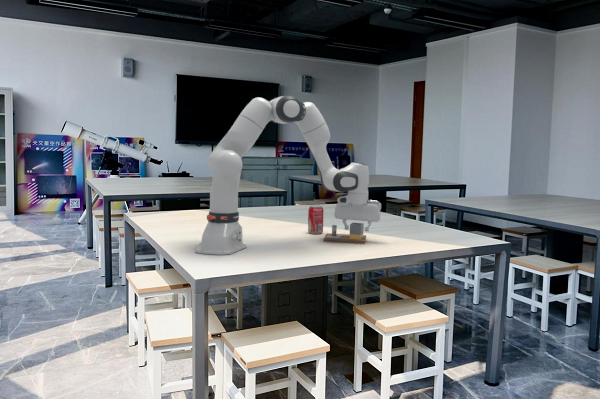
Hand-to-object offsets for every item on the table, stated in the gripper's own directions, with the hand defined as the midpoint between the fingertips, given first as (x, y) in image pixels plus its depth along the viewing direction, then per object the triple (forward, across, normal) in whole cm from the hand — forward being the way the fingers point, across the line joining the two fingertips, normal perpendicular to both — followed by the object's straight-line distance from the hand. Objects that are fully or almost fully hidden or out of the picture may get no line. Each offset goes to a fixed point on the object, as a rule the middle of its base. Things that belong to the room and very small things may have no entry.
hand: (356, 230), depth 221 cm
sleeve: (+3, 0, 0) cm, 3 cm away
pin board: (+5, +5, +1) cm, 7 cm away
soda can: (+5, +22, -8) cm, 24 cm away
